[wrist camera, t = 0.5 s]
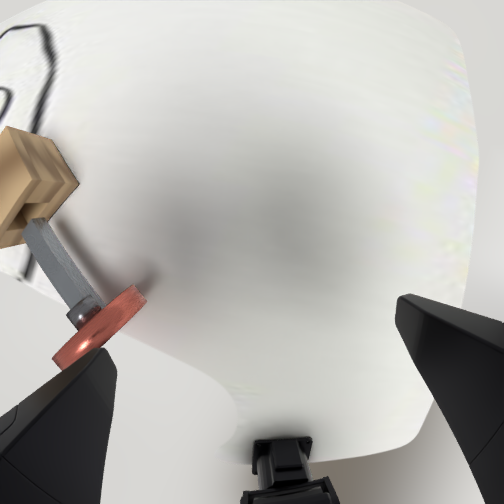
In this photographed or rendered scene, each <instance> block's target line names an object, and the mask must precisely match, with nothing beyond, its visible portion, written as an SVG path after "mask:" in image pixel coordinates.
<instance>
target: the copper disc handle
mask: <svg viewBox="0 0 504 504" xmlns="http://www.w3.org/2000/svg"><path fill="white" fill-rule="evenodd" d="M21 235H22V237H23V238H24V240H25V242H26V244H27V245H28V247H29V249H30V250H31V252H32V254H33V255H34V257H35V259H36V260H37V262H38V263H39V265H40V266H41V268H42V270H43V271H44V273H45V274H46V276H47V277H48V279H49V280H50V282H51V283H52V284H53V286H54V287H55V289H56V290H57V292H58V293H59V294H60V296H61V297H62V299H63V300H64V301H65V303H66V304H67V305H68V307H69V308H70V309H71V310H70V311H69V312H68V313H67V314H66V316H67V317H68V319H69V320H70V321H71V323H72V324H73V325H74V326H75V328H76V329H77V330H78V332H77V333H76V334H75V335H74V336H73V337H72V338H71V339H70V340H69V341H68V342H67V343H66V344H65V345H64V346H63V347H62V348H61V349H60V350H59V351H58V352H57V353H56V354H55V355H54V356H53V357H52V360H53V361H54V362H55V363H56V365H57V366H58V367H59V368H60V369H61V370H62V371H63V370H64V369H66V368H67V367H68V366H70V365H71V364H72V363H74V362H75V361H76V360H78V359H79V358H80V357H82V356H83V355H85V354H86V353H87V352H89V351H90V350H91V349H93V348H100V347H101V346H103V345H104V344H105V343H106V342H107V341H108V340H109V339H110V338H111V337H112V336H113V335H114V334H115V333H116V332H117V331H119V330H120V329H121V328H122V327H123V326H124V325H125V324H126V323H127V322H128V321H129V320H130V319H131V318H132V317H133V316H134V315H135V314H136V313H137V312H138V311H139V310H140V309H141V308H142V307H143V306H144V305H145V304H146V302H147V300H146V299H145V298H144V297H143V295H142V294H141V293H140V292H139V291H138V289H137V288H136V287H135V286H134V284H133V285H131V286H130V287H129V288H127V289H126V290H125V291H123V292H122V293H121V294H120V295H119V296H117V297H116V298H115V299H114V300H113V301H111V302H110V303H109V304H108V305H107V306H106V304H105V303H104V302H103V301H102V299H101V298H100V297H99V296H98V294H97V293H96V292H95V291H94V289H93V288H92V287H91V285H90V284H89V283H88V281H87V280H86V279H85V277H84V276H83V275H82V273H81V272H80V270H79V269H78V268H77V266H76V265H75V263H74V262H73V261H72V259H71V258H70V256H69V255H68V253H67V252H66V250H65V249H64V247H63V246H62V244H61V243H60V241H59V240H58V238H57V237H56V235H55V234H54V232H53V230H52V229H51V227H50V226H49V224H48V222H47V221H46V219H45V217H42V218H32V219H31V220H30V222H29V223H28V224H27V226H26V227H25V229H24V230H23V231H22V233H21Z"/></svg>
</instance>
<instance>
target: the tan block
mask: <svg viewBox="0 0 504 504" xmlns="http://www.w3.org/2000/svg"><path fill="white" fill-rule="evenodd" d="M78 185H79V183H78V182H77V180H76V179H75V177H74V176H73V174H72V173H71V171H70V169H69V168H68V166H67V165H66V163H65V161H64V160H63V158H62V156H61V155H60V153H59V151H58V150H57V148H56V146H55V145H54V143H53V141H52V140H51V139H48V138H45V137H41V136H38V135H35V134H32V133H29V132H26V131H22V130H19V129H16V128H12V127H9V126H6V127H5V129H4V130H3V131H2V133H1V134H0V249H2V248H6V247H11V246H15V245H20V244H24V243H26V242H25V240H24V238H23V237H22V235H21V233H22V231H23V230H24V229H25V227H26V226H27V224H28V223H29V222H30V220H31V219H32V218H42V217H45V219H46V221H48V220H49V219H50V218H51V216H52V215H53V214H54V213H55V211H56V210H57V209H58V208H59V207H60V205H61V204H62V203H63V202H64V201H65V200H66V198H67V197H68V196H69V195H70V194H71V193H72V192H73V190H74V189H75V188H76V187H77V186H78Z"/></svg>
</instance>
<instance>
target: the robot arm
mask: <svg viewBox="0 0 504 504" xmlns="http://www.w3.org/2000/svg"><path fill="white" fill-rule="evenodd" d="M395 324H396V327H397V329H398V331H399V333H400V335H401V337H402V339H403V341H404V343H405V345H406V348H407V350H408V352H409V354H410V356H411V358H412V360H413V362H414V364H415V366H416V368H417V369H418V371H419V373H420V374H421V376H422V378H423V379H424V381H425V383H426V385H427V386H428V388H429V390H430V391H431V393H432V395H433V397H434V399H435V400H436V402H437V404H438V406H439V408H440V409H441V411H442V413H443V415H444V417H445V418H446V420H447V422H448V424H449V426H450V428H451V430H452V432H453V434H454V436H455V438H456V440H457V442H458V444H459V446H460V448H461V450H462V452H463V454H464V456H465V458H466V460H467V462H468V464H469V467H470V469H471V471H472V473H473V476H474V478H475V480H476V483H477V485H478V487H479V489H480V492H481V494H482V497H483V499H484V502H485V504H504V323H502V322H501V321H498V320H495V319H491V318H488V317H485V316H482V315H479V314H475V313H472V312H469V311H466V310H463V309H459V308H456V307H453V306H450V305H446V304H443V303H440V302H437V301H433V300H430V299H427V298H423V297H420V296H417V295H414V294H406V295H402V296H399V297H398V299H397V305H396V314H395ZM116 381H117V369H116V366H115V364H114V362H113V361H112V359H111V357H110V355H109V353H108V351H107V350H106V349H105V348H93V349H91V350H90V351H89V352H87V353H86V354H85V355H83V356H82V357H80V358H79V359H78V360H76V361H75V362H74V363H72V364H71V365H70V366H68V367H67V368H66V369H64V370H63V371H62V372H60V373H59V374H57V375H56V376H55V377H53V378H52V379H51V380H50V381H48V382H47V383H45V384H44V385H43V386H41V387H40V388H39V389H37V390H36V391H35V392H34V393H32V394H31V395H30V396H28V397H27V398H25V399H24V400H23V401H22V402H20V403H19V405H16V406H15V407H14V408H12V409H11V410H10V411H8V412H7V413H6V414H4V415H3V416H1V417H0V504H100V499H101V489H102V480H103V473H104V465H105V459H106V452H107V446H108V440H109V434H110V428H111V423H112V417H113V410H114V399H115V389H116ZM307 441H308V442H307ZM312 442H313V441H312V438H310V437H307V438H296V439H281V440H258V441H255V442H254V445H253V463H252V473H253V474H254V475H258V483H259V490H256V491H243V497H241V500H240V504H340V502H339V499H338V497H337V495H336V492H335V490H334V488H333V486H332V483H331V481H330V479H329V477H328V476H327V477H323V478H322V479H318V480H313V478H312V474H311V471H310V467H309V463H308V459H309V455H310V451H311V447H312ZM257 444H259V445H257Z"/></svg>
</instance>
